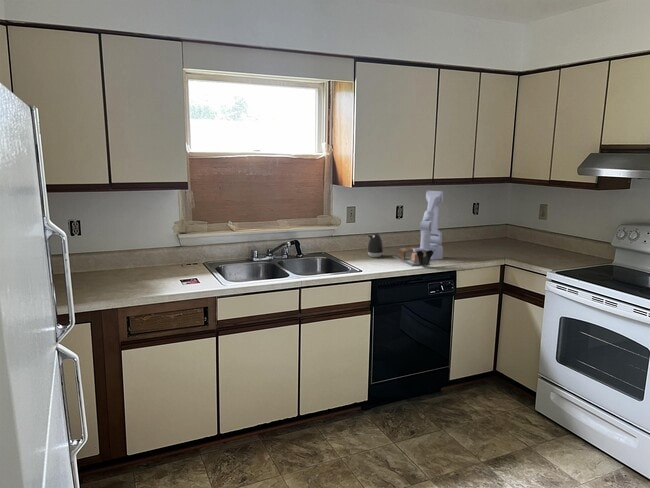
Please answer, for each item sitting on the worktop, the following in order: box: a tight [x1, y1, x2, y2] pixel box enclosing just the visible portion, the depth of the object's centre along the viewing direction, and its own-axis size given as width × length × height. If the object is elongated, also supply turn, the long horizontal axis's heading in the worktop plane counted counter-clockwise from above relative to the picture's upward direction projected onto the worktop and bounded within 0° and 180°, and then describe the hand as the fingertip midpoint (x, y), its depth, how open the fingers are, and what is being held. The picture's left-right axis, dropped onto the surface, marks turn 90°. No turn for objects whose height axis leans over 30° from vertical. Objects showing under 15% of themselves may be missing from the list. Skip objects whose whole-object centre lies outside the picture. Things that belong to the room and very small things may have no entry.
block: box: [411, 252, 419, 261], centre depth 301 cm, size 4×4×4 cm
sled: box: [408, 255, 429, 266], centre depth 298 cm, size 7×15×5 cm, turn 19°
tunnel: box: [397, 246, 416, 260], centre depth 309 cm, size 12×8×6 cm
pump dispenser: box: [366, 233, 384, 259], centre depth 316 cm, size 10×10×15 cm
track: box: [392, 253, 431, 267], centre depth 308 cm, size 12×25×1 cm, turn 19°
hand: (424, 263), depth 293 cm, fingers closed on sled, 4 cm apart
